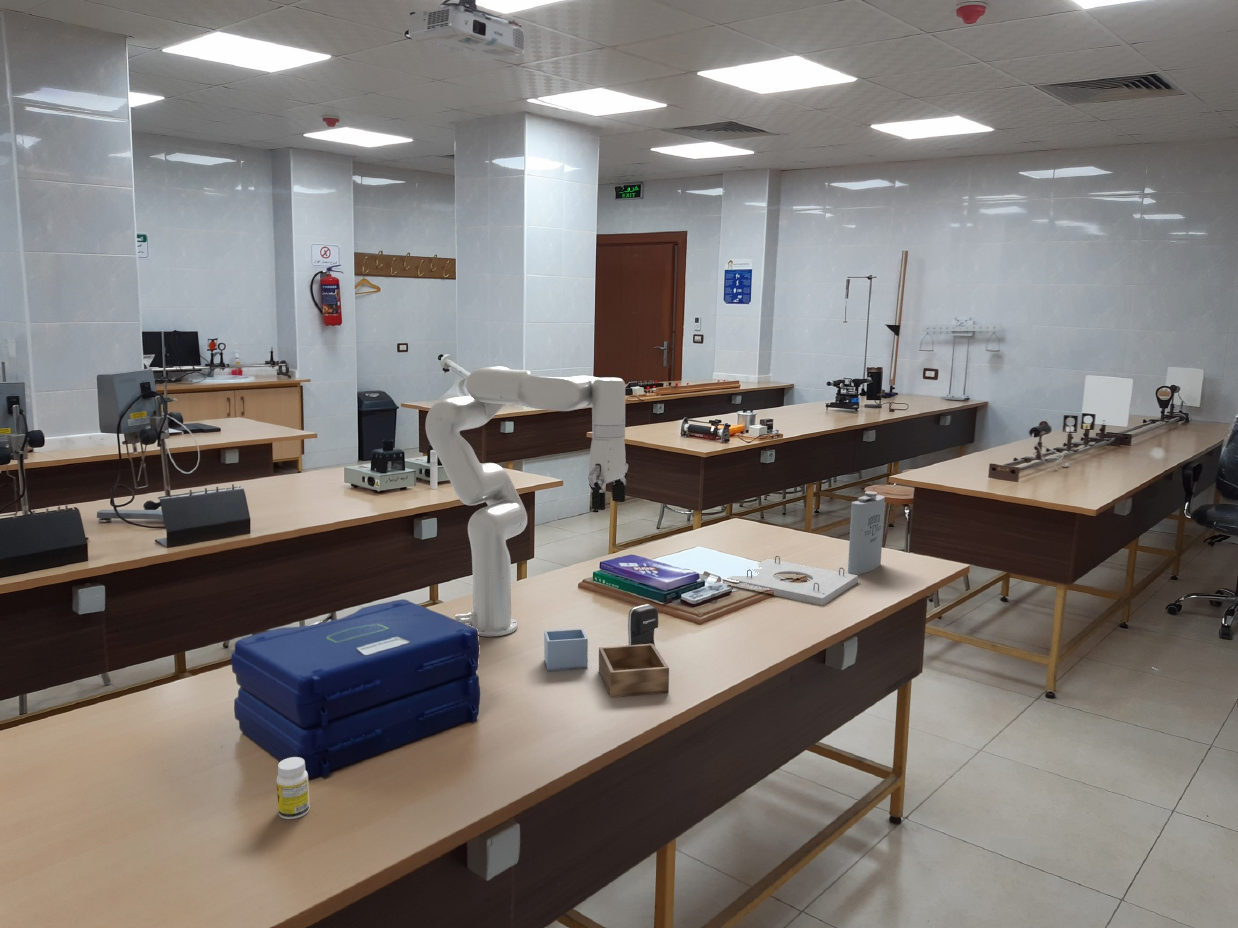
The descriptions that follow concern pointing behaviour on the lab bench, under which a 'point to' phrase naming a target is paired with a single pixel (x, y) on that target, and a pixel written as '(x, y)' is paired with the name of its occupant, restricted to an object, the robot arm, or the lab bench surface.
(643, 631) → the black upright device
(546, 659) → the box
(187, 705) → the lab bench surface
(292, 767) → the supplement bottle
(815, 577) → the mounting panel
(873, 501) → the flask
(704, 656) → the lab bench surface
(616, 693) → the open wooden box
